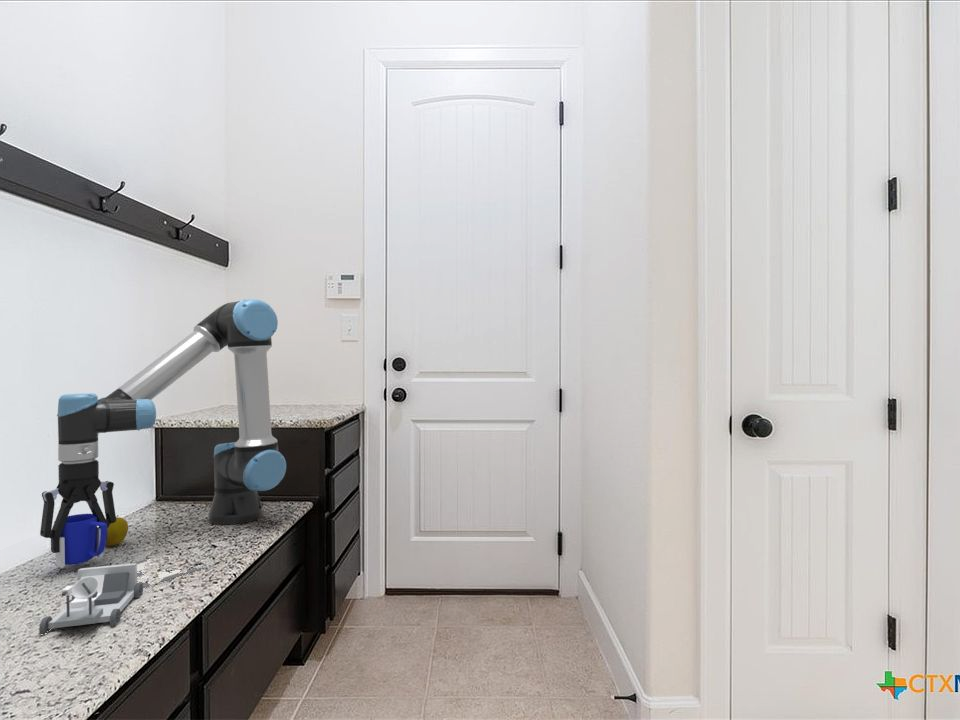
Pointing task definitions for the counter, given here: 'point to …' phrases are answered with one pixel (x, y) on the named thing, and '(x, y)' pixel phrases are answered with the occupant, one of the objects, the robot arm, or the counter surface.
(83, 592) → the toy car
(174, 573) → the label panel
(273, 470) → the robot arm
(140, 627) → the counter surface
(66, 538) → the mug
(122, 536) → the apple
